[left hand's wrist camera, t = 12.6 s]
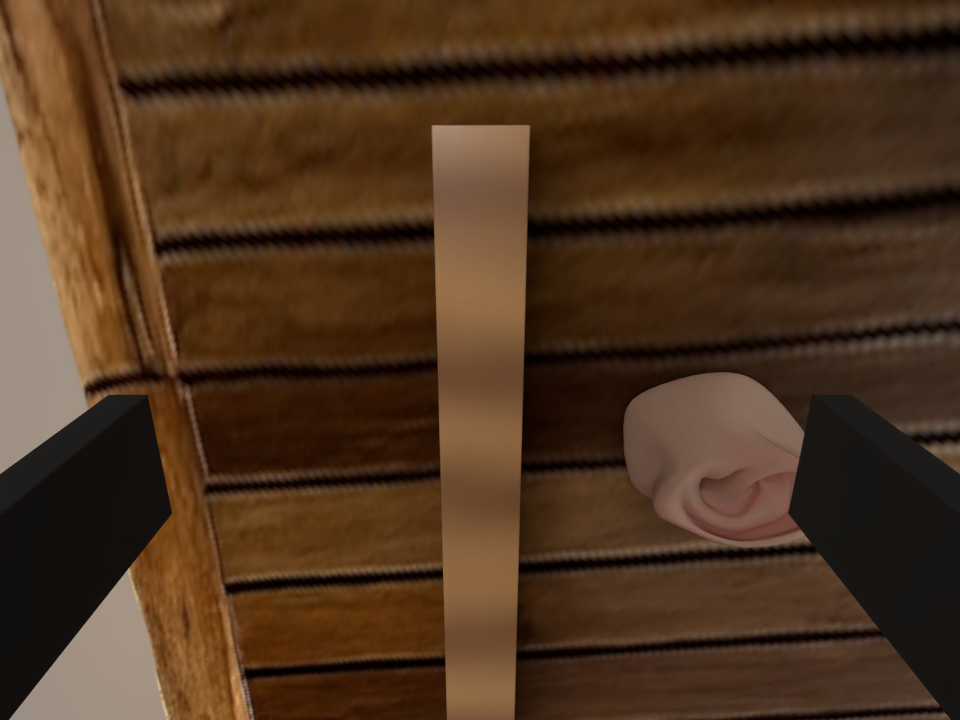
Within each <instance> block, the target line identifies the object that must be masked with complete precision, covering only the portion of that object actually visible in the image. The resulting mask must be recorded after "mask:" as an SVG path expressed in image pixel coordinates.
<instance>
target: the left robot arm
mask: <svg viewBox="0 0 960 720" xmlns="http://www.w3.org/2000/svg"><path fill="white" fill-rule="evenodd" d="M171 514H172V511H171V506H170V501H169V496H168V492H167V487H166V482H165V477H164V472H163V467H162V463H161V458H160V453H159V448H158V443H157V438H156V433H155V429H154V424H153V419H152V414H151V409H150V404H149V400H148V395H108V396H107V397H105V398H104V399H103V400H101V401H100V402H98V403H97V404H96V405H94V406H93V407H92V408H90V409H89V410H88V411H86V412H85V413H83V414H82V415H81V416H79V417H78V418H77V419H75V420H74V421H72V422H71V423H70V424H68V425H67V426H66V427H64V428H63V429H62V430H60V431H59V432H57V433H56V434H55V435H53V436H52V437H51V438H49V439H48V440H46V441H45V442H44V443H42V444H41V445H40V446H38V447H37V448H35V449H34V450H33V451H31V452H30V453H29V454H27V455H26V456H25V457H23V458H22V459H20V460H19V461H18V462H16V463H15V464H14V465H12V466H11V467H9V468H8V469H7V470H5V471H4V472H3V473H1V474H0V720H9V719H10V718H11V716H12V715H13V714H14V713H15V711H16V710H17V709H18V708H19V706H20V705H21V704H22V702H23V701H24V700H25V699H26V697H27V696H28V695H29V694H30V692H31V691H32V690H33V689H34V687H35V686H36V685H37V683H38V682H39V681H40V680H41V678H42V677H43V676H44V675H45V673H46V672H47V671H48V670H49V668H50V667H51V666H52V665H53V663H54V662H55V661H56V659H57V658H58V657H59V656H60V654H61V653H62V652H63V651H64V649H65V648H66V647H67V646H68V644H69V643H70V642H71V641H72V639H73V638H74V637H75V635H76V634H77V633H78V632H79V630H80V629H81V628H82V627H83V625H84V624H85V623H86V621H87V620H88V619H89V618H90V616H91V615H92V614H93V613H94V611H95V610H96V609H97V608H98V606H99V605H100V604H101V603H102V601H103V600H104V599H105V598H106V596H107V595H108V594H109V592H110V591H111V590H112V589H113V587H114V586H115V585H116V584H117V582H118V581H119V580H120V579H121V577H122V576H123V575H124V573H125V572H126V571H127V570H128V568H129V567H130V566H131V565H132V563H133V562H134V561H135V560H136V558H137V557H138V556H139V555H140V553H141V552H142V551H143V549H144V548H145V547H146V546H147V544H148V543H149V542H150V541H151V539H152V538H153V537H154V536H155V534H156V533H157V532H158V531H159V529H160V528H161V527H162V525H163V524H164V523H165V522H166V520H167V519H168V518H169V517H170V515H171ZM788 514H789V515H790V517H791V518H792V519H793V520H794V522H795V523H796V524H797V525H798V527H799V528H800V529H801V531H802V532H803V533H804V534H805V536H806V537H807V538H808V539H809V541H810V542H811V543H812V544H813V546H814V547H815V548H816V549H817V551H818V552H819V553H820V555H821V556H822V557H823V558H824V560H825V561H826V562H827V563H828V565H829V566H830V567H831V568H832V570H833V571H834V572H835V573H836V575H837V576H838V577H839V579H840V580H841V581H842V582H843V584H844V585H845V586H846V587H847V589H848V590H849V591H850V592H851V594H852V595H853V596H854V598H855V599H856V600H857V601H858V603H859V604H860V605H861V606H862V608H863V609H864V610H865V611H866V613H867V614H868V615H869V616H870V618H871V619H872V620H873V622H874V623H875V624H876V625H877V627H878V628H879V629H880V630H881V632H882V633H883V634H884V635H885V637H886V638H887V639H888V641H889V642H890V643H891V644H892V646H893V647H894V648H895V649H896V651H897V652H898V653H899V654H900V656H901V657H902V658H903V659H904V661H905V662H906V663H907V665H908V666H909V667H910V668H911V670H912V671H913V672H914V673H915V675H916V676H917V677H918V678H919V680H920V681H921V682H922V684H923V685H924V686H925V687H926V689H927V690H928V691H929V692H930V694H931V695H932V696H933V697H934V699H935V700H936V701H937V702H938V704H939V705H940V706H941V708H942V709H943V710H944V711H945V713H946V714H947V715H948V716H949V718H950V719H951V720H960V474H959V473H957V472H956V471H955V470H953V469H952V468H951V467H949V466H948V465H946V464H945V463H944V462H942V461H941V460H940V459H938V458H937V457H935V456H934V455H933V454H931V453H930V452H929V451H927V450H926V449H925V448H923V447H922V446H920V445H919V444H918V443H916V442H915V441H914V440H912V439H911V438H909V437H908V436H907V435H905V434H904V433H903V432H901V431H900V430H899V429H897V428H896V427H894V426H893V425H892V424H890V423H889V422H888V421H886V420H885V419H883V418H882V417H881V416H879V415H878V414H877V413H875V412H874V411H872V410H871V409H870V408H868V407H867V406H866V405H864V404H863V403H862V402H860V401H859V400H857V399H856V398H855V397H853V396H852V395H812V400H811V404H810V409H809V414H808V419H807V424H806V429H805V433H804V438H803V443H802V448H801V453H800V458H799V463H798V467H797V472H796V477H795V482H794V487H793V492H792V496H791V501H790V506H789V511H788Z"/></svg>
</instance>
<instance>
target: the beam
mask: <svg viewBox="0 0 960 720" xmlns="http://www.w3.org/2000/svg"><path fill="white" fill-rule="evenodd" d="M431 128H432V166H433V204H434V242H435V280H436V318H437V356H438V394H439V432H440V470H441V508H442V546H443V584H444V622H445V660H446V698H447V720H515V683H516V645H517V607H518V569H519V531H520V493H521V455H522V417H523V379H524V341H525V303H526V265H527V227H528V189H529V151H530V125H432V127H431Z"/></svg>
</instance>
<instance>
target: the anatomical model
mask: <svg viewBox="0 0 960 720" xmlns="http://www.w3.org/2000/svg"><path fill="white" fill-rule="evenodd" d="M623 436H624V455H625V461H626V465H627V470H628V474H629V477H630V480H631V482H632V484H633V485H634V487H635V488H636V489H637V490H638V491H639V492H641V493H642V494H644V495H645V496H647V497H649V498H651V499H652V505H653V508H654V510H655V512H656V514H657V515H658V516H659V517H661V518H662V519H664V520H665V521H667V522H670V523H672V524H674V525H677V526H679V527H681V528H683V529H686V530H688V531H690V532H692V533H694V534H697V535H699V536H701V537H704V538H706V539H708V540H711V541H714V542H717V543H720V544H724V545H728V546H734V547H746V548H750V547H765V546H772V545H778V544H783V543H787V542H790V541H793V540H796V539H799V538H802V537H804V536H805V534H804V533H803V532H802V531H801V529H800V528H799V527H798V525H797V524H796V523H795V522H794V520H793V519H792V518H791V517H790V515H789V514H788V511H789V506H790V501H791V496H792V492H793V487H794V482H795V477H796V472H797V467H798V463H799V458H800V453H801V448H802V443H803V438H804V432H803V430H802V429H801V427H800V426H799V425H798V423H797V422H796V421H795V419H794V418H793V417H792V416H791V414H790V413H789V412H788V411H787V410H786V408H785V407H784V406H783V405H782V404H781V403H780V402H779V401H778V400H777V399H776V397H775V396H774V395H773V394H771V393H770V392H769V391H768V390H767V389H766V388H765V387H764V386H762V385H761V384H760V383H758V382H757V381H755V380H753V379H751V378H749V377H747V376H744V375H741V374H736V373H730V372H717V373H705V374H699V375H693V376H689V377H685V378H681V379H677V380H674V381H671V382H668V383H664V384H661V385H659V386H656V387H654V388H651V389H649V390H647V391H645V392H643V393H641V394H640V395H638V396H637V397H635V398H634V399H633V400H632V401H631V402H630V404H629V405H628V407H627V409H626V412H625V416H624V425H623Z"/></svg>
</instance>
